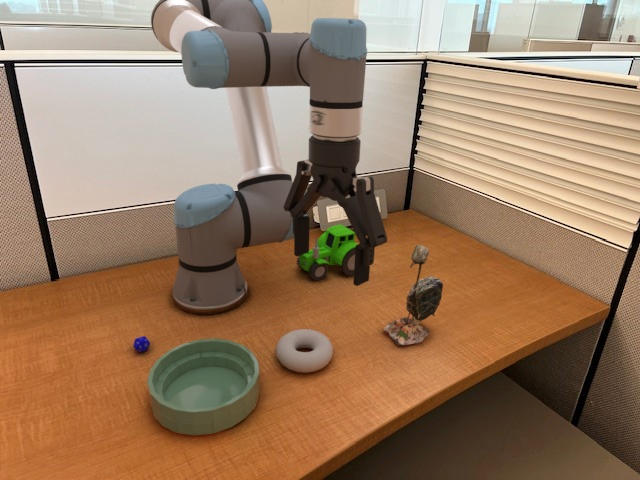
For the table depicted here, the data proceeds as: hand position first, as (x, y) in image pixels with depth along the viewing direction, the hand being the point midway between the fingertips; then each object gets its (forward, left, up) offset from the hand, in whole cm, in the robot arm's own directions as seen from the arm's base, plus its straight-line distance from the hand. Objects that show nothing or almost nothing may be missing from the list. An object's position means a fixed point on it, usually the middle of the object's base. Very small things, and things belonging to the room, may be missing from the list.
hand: (329, 267), depth 78 cm
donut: (-1, -4, -18) cm, 18 cm away
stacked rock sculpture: (+1, +18, -18) cm, 26 cm away
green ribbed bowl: (+1, -22, -18) cm, 28 cm away
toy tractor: (-28, +16, -18) cm, 37 cm away
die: (-15, -29, -18) cm, 37 cm away
